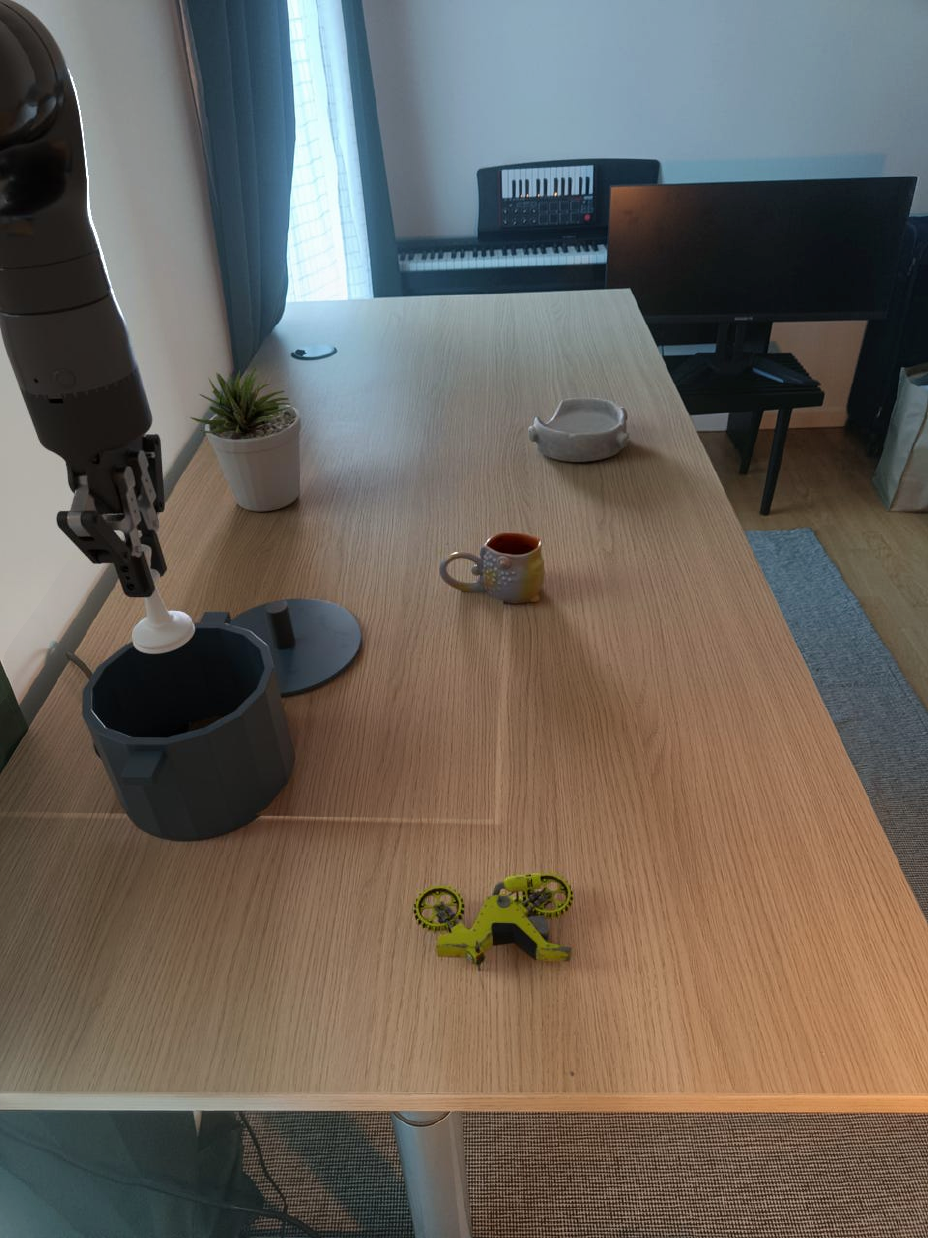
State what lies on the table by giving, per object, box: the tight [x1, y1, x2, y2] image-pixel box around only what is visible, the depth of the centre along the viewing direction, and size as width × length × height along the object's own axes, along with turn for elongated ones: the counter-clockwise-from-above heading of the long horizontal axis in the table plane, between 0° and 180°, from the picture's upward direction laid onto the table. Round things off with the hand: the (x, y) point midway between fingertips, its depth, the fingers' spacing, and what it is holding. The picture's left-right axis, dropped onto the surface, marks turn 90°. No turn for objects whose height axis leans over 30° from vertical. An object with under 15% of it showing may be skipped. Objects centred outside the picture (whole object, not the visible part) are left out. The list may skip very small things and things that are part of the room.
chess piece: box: [124, 530, 195, 654], centre depth 68 cm, size 5×5×10 cm
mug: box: [438, 531, 546, 605], centre depth 99 cm, size 12×7×7 cm, turn 90°
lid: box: [229, 597, 363, 698], centre depth 92 cm, size 17×17×6 cm
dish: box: [527, 397, 630, 463], centre depth 129 cm, size 14×14×5 cm
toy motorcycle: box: [412, 871, 574, 972], centre depth 64 cm, size 12×4×7 cm
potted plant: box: [189, 366, 302, 513], centre depth 116 cm, size 13×14×20 cm
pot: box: [81, 611, 296, 842], centre depth 77 cm, size 16×21×12 cm
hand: (147, 583), depth 68 cm, fingers closed on chess piece
